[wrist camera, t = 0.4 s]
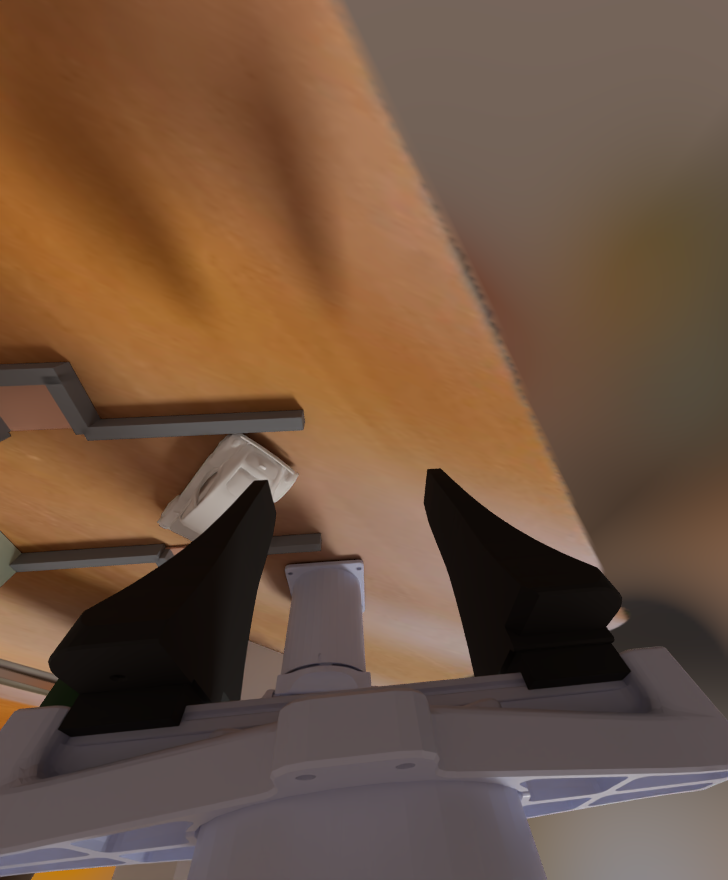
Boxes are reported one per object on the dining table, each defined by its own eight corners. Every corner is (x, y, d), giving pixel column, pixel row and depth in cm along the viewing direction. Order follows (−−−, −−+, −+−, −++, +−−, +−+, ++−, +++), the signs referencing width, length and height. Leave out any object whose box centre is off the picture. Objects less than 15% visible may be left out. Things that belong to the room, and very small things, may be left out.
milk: (237, 636, 36) (74, 1221, 14) (305, 662, 41) (264, 1125, 19) (182, 669, 40) (-15, 1179, 18) (251, 690, 45) (164, 1107, 23)
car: (240, 418, 21) (217, 453, 17) (305, 465, 24) (298, 506, 20) (157, 505, 25) (122, 551, 21) (221, 538, 28) (201, 585, 24)
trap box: (325, 566, 30) (323, 594, 28) (43, 586, 29) (13, 618, 26) (295, 353, 19) (288, 368, 16) (-176, 370, 17) (-266, 388, 15)
